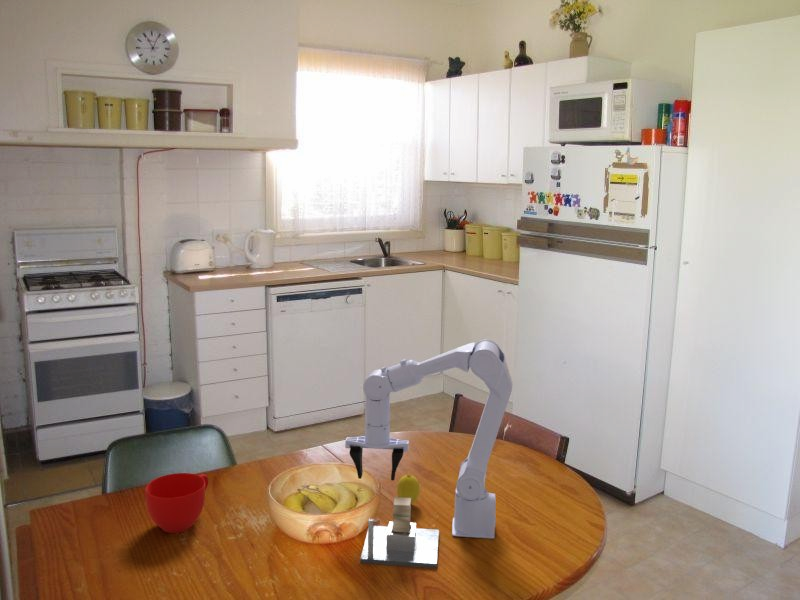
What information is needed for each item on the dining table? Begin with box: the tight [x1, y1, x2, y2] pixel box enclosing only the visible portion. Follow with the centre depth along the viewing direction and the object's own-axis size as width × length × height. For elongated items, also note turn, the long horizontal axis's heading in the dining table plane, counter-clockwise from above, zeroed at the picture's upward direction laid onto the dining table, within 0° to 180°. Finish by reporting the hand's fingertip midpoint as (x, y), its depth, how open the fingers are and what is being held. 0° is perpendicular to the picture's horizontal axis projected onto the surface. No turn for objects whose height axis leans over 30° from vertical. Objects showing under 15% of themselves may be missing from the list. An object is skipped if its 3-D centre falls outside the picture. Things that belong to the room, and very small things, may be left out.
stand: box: [359, 517, 440, 569], centre depth 153 cm, size 16×14×9 cm
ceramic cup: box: [144, 472, 209, 534], centre depth 162 cm, size 13×17×10 cm
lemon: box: [396, 473, 421, 504], centre depth 173 cm, size 6×6×8 cm
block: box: [392, 496, 412, 532], centre depth 153 cm, size 4×4×6 cm
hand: (376, 477), depth 165 cm, fingers open, 7 cm apart
